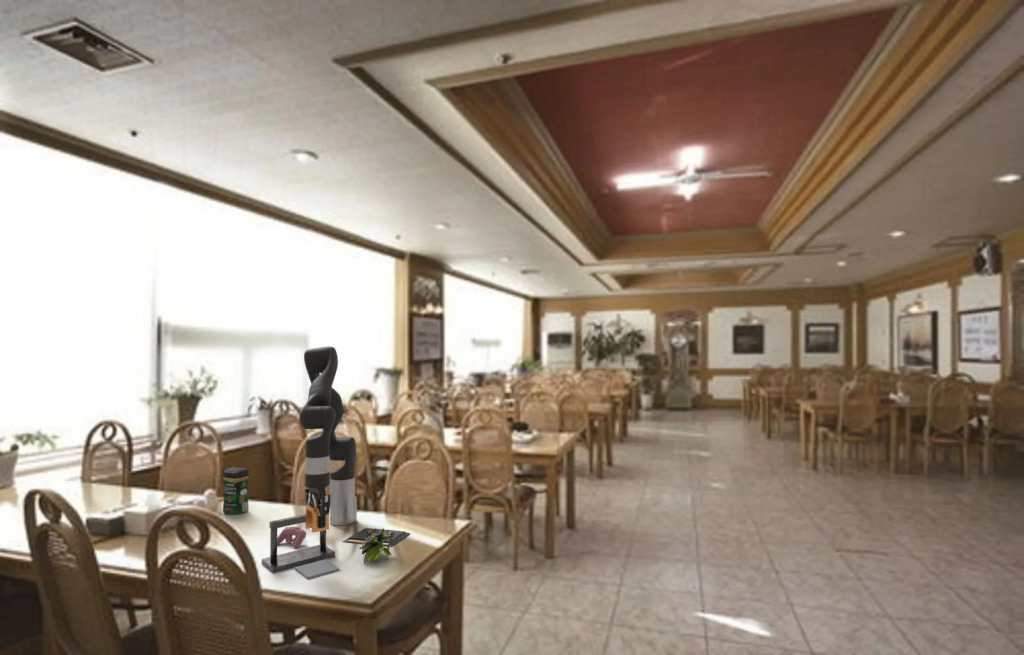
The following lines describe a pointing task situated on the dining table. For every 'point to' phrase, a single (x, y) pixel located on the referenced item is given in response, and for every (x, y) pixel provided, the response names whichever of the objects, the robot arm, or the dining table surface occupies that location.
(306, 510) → the copper link
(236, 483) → the coffee jar
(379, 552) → the green leafy plant
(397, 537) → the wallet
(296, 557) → the hanger stand
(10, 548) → the dining table surface
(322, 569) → the mat
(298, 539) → the pink animal figurine
